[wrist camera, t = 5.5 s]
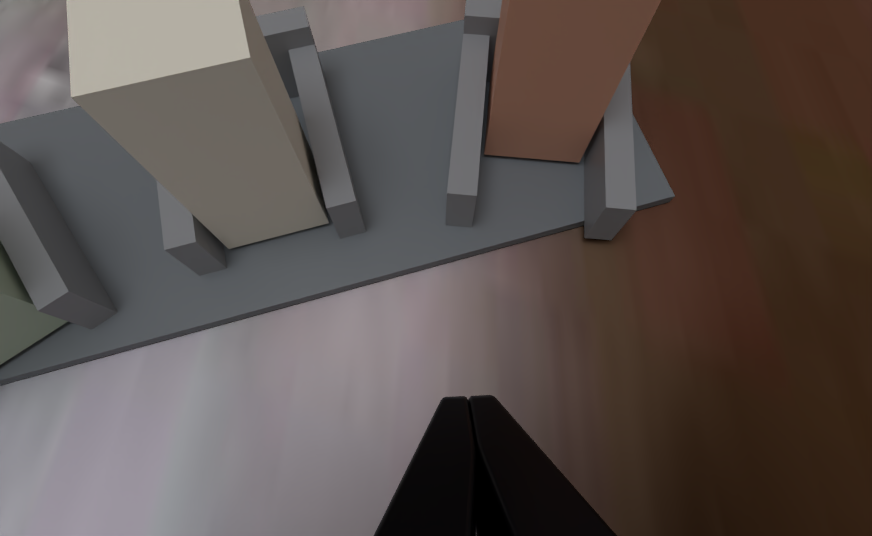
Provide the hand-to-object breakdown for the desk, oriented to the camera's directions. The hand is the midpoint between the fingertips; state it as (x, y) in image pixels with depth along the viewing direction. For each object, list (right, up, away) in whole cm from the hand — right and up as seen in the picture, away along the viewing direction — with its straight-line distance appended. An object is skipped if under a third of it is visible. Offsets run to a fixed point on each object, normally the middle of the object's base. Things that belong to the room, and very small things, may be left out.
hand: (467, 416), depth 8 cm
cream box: (-8, +5, +15) cm, 18 cm away
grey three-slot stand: (-8, +5, +15) cm, 18 cm away
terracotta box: (+4, +9, +17) cm, 20 cm away
